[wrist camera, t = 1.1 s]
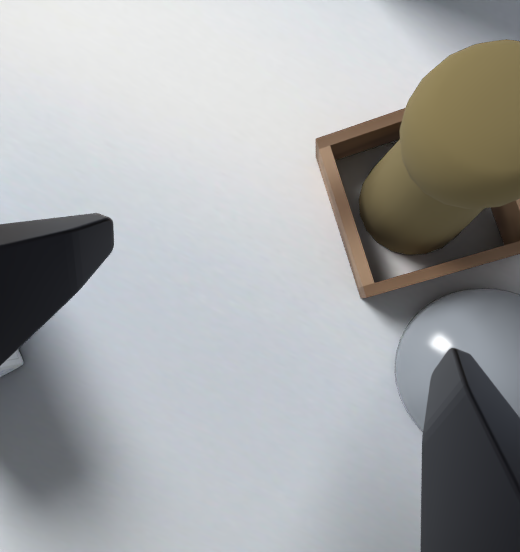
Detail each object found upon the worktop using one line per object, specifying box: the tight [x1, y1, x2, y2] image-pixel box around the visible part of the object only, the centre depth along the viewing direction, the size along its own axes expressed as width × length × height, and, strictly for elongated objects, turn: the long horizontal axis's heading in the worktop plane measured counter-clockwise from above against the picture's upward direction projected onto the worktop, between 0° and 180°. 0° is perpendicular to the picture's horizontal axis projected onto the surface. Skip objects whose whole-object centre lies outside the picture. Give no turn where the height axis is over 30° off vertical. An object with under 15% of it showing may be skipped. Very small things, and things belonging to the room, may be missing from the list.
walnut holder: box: [316, 108, 520, 298], centre depth 20 cm, size 9×9×2 cm
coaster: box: [395, 289, 520, 432], centre depth 20 cm, size 9×9×1 cm
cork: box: [359, 39, 520, 255], centre depth 16 cm, size 6×6×11 cm
